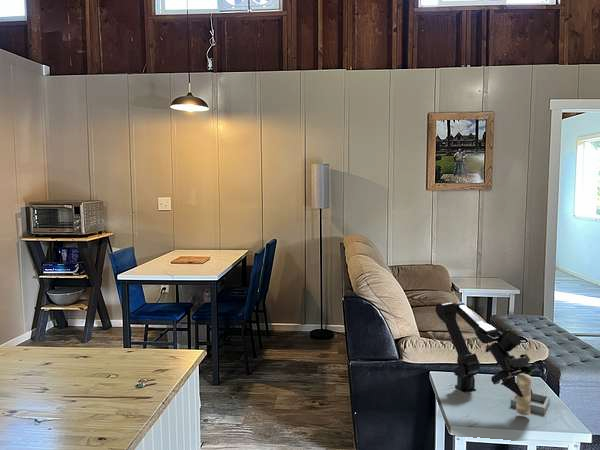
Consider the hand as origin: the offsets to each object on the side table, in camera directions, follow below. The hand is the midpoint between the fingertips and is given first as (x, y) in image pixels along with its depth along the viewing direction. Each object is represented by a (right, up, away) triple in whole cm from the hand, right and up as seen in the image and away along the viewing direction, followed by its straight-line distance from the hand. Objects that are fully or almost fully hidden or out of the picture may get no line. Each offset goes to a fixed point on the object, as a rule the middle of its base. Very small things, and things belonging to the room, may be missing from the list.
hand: (526, 395), depth 169 cm
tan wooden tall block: (-1, -7, +2) cm, 7 cm away
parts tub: (+7, -8, +12) cm, 16 cm away
